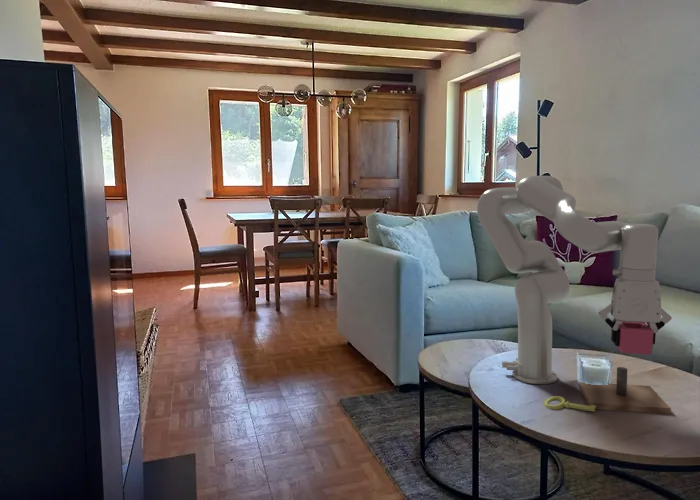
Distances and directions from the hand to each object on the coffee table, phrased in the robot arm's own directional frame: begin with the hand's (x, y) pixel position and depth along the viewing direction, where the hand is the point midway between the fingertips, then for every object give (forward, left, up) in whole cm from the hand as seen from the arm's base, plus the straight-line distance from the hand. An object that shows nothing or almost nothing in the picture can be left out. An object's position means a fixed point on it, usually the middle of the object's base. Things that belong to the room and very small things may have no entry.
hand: (632, 345), depth 118 cm
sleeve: (0, 0, -1) cm, 1 cm away
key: (-15, 0, -18) cm, 23 cm away
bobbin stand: (0, +7, -17) cm, 18 cm away
